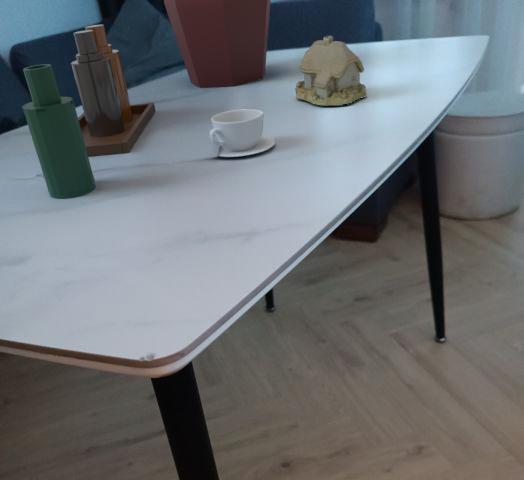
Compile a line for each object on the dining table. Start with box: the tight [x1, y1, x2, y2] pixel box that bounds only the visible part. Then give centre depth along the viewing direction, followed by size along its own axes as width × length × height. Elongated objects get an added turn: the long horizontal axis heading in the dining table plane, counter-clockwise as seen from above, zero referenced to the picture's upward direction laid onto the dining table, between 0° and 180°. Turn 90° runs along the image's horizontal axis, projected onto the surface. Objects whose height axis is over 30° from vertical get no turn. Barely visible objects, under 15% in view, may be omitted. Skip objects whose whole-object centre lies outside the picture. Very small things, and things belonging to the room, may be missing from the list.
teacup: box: [208, 108, 276, 158], centre depth 85 cm, size 10×10×5 cm
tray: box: [78, 102, 156, 158], centre depth 99 cm, size 13×26×2 cm, turn 0°
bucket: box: [163, 0, 271, 89], centre depth 124 cm, size 24×22×25 cm
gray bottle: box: [70, 29, 126, 137], centre depth 95 cm, size 6×6×15 cm
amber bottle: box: [84, 24, 133, 123], centre depth 101 cm, size 6×6×15 cm
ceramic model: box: [294, 35, 367, 106], centre depth 104 cm, size 14×11×10 cm
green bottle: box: [22, 63, 97, 199], centre depth 74 cm, size 6×6×15 cm
